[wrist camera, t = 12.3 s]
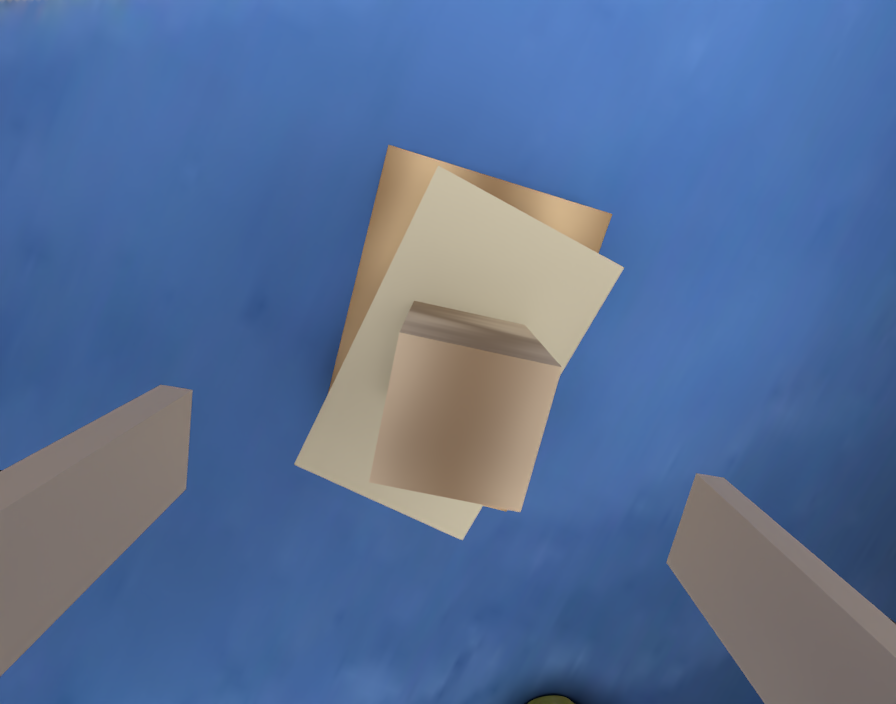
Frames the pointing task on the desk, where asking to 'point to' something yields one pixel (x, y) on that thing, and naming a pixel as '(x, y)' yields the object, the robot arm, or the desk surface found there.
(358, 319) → the bottom block
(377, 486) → the middle block
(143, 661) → the desk surface
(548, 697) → the plant pot
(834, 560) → the desk surface
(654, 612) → the desk surface
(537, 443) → the ash block
